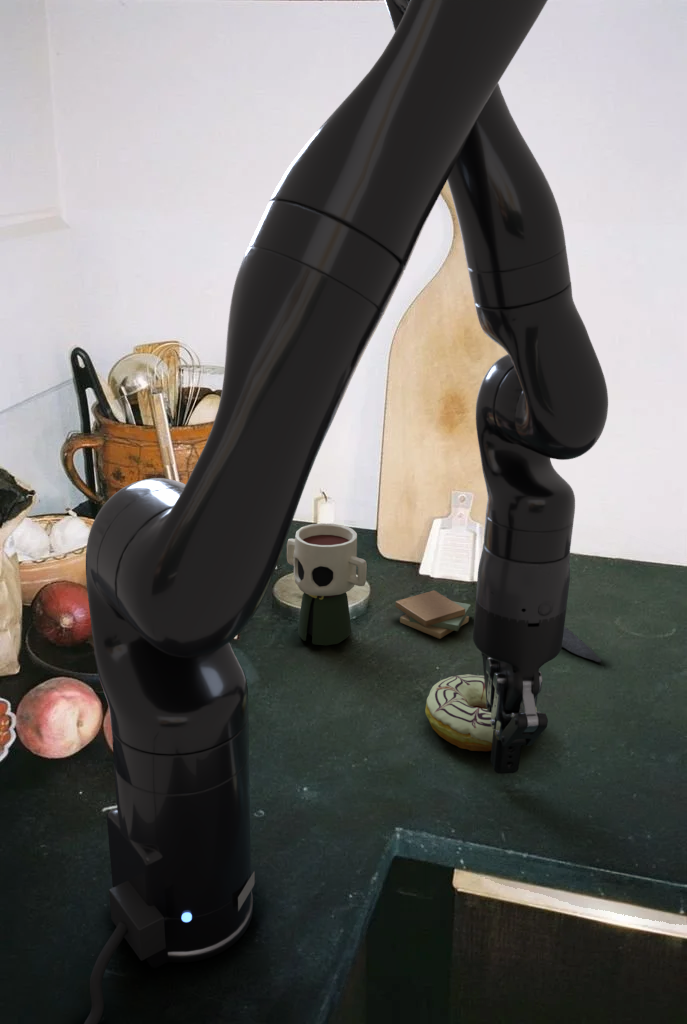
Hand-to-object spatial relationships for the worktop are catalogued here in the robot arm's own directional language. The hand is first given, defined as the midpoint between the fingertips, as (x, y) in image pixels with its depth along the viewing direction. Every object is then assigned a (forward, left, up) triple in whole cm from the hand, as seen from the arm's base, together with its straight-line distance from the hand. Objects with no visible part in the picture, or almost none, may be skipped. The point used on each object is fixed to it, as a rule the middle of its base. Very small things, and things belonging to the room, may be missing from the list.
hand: (504, 768), depth 85 cm
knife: (+25, +16, -2) cm, 30 cm away
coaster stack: (+16, +26, -2) cm, 31 cm away
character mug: (+3, +31, -2) cm, 32 cm away
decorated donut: (+4, +7, -2) cm, 9 cm away
